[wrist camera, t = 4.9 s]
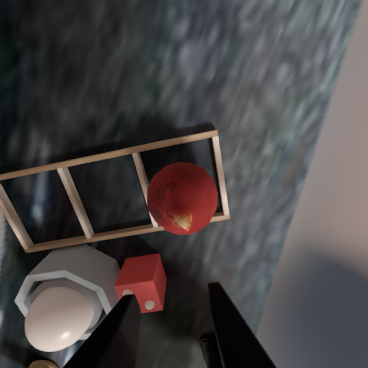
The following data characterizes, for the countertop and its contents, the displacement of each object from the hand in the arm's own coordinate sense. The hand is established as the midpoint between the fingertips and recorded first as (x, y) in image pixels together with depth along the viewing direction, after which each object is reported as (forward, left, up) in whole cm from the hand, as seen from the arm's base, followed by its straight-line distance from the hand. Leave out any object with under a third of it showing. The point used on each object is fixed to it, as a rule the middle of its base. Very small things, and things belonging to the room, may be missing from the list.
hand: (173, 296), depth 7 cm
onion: (0, 0, -13) cm, 13 cm away
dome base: (-10, +12, -13) cm, 20 cm away
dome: (-10, +14, -12) cm, 21 cm away
